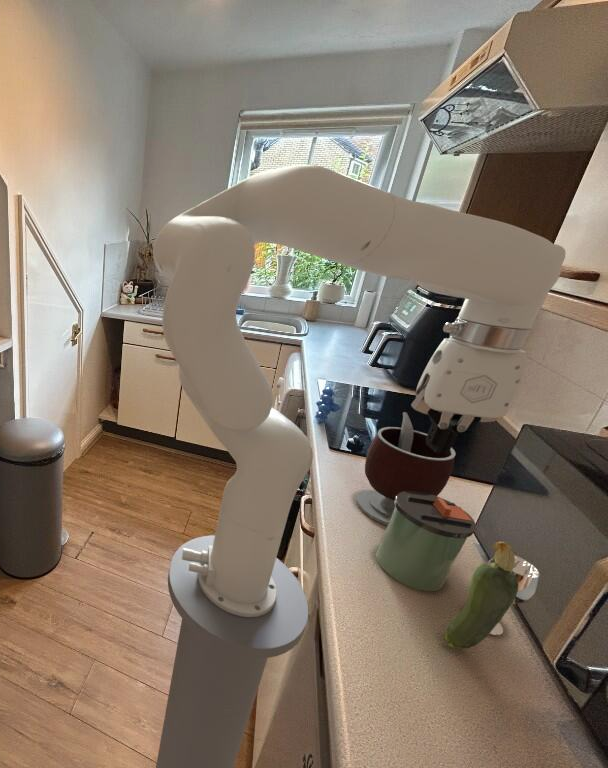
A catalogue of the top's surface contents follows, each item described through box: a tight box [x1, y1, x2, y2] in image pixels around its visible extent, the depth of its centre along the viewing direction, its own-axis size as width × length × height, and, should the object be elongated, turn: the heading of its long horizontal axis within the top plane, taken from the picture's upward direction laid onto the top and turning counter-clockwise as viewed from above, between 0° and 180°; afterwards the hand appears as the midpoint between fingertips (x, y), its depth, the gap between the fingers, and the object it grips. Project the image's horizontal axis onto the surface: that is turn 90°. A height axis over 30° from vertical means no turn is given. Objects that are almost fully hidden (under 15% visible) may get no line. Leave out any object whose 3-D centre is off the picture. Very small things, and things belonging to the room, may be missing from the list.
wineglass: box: [487, 554, 541, 636], centre depth 62 cm, size 6×6×12 cm
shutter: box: [433, 497, 472, 523], centre depth 68 cm, size 4×4×2 cm
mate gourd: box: [355, 411, 456, 526], centre depth 85 cm, size 16×14×20 cm
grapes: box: [314, 386, 341, 423], centre depth 124 cm, size 12×7×12 cm, turn 149°
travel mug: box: [375, 491, 477, 592], centre depth 71 cm, size 11×11×14 cm
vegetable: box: [444, 541, 518, 650], centre depth 55 cm, size 4×4×20 cm
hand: (436, 448), depth 63 cm, fingers closed
